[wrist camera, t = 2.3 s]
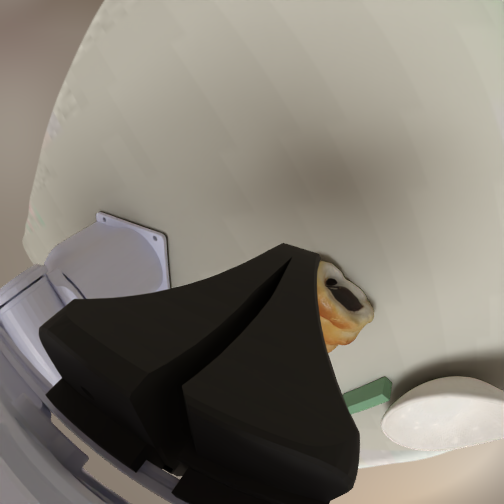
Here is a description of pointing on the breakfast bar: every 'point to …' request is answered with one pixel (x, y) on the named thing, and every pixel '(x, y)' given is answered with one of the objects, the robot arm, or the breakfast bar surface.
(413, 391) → the spoon rest
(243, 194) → the breakfast bar surface
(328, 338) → the pastry
